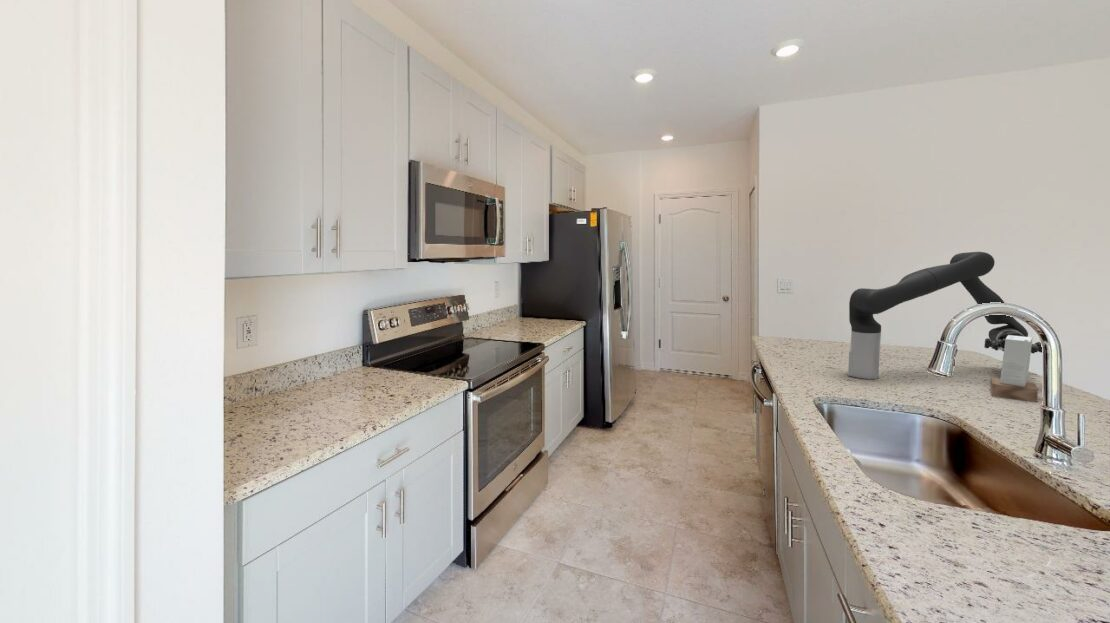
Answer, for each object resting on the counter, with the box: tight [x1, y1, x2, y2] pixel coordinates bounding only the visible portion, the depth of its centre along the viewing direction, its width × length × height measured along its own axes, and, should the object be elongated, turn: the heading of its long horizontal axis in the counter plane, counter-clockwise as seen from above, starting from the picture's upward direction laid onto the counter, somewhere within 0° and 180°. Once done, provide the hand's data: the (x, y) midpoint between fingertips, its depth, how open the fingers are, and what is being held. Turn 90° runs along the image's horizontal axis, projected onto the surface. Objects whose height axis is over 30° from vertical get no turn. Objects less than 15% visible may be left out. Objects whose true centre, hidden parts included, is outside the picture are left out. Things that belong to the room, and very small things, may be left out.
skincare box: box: [1000, 335, 1033, 387], centre depth 145 cm, size 8×6×15 cm
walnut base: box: [989, 377, 1039, 403], centre depth 146 cm, size 10×10×4 cm
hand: (1014, 348), depth 149 cm, fingers open, 8 cm apart
